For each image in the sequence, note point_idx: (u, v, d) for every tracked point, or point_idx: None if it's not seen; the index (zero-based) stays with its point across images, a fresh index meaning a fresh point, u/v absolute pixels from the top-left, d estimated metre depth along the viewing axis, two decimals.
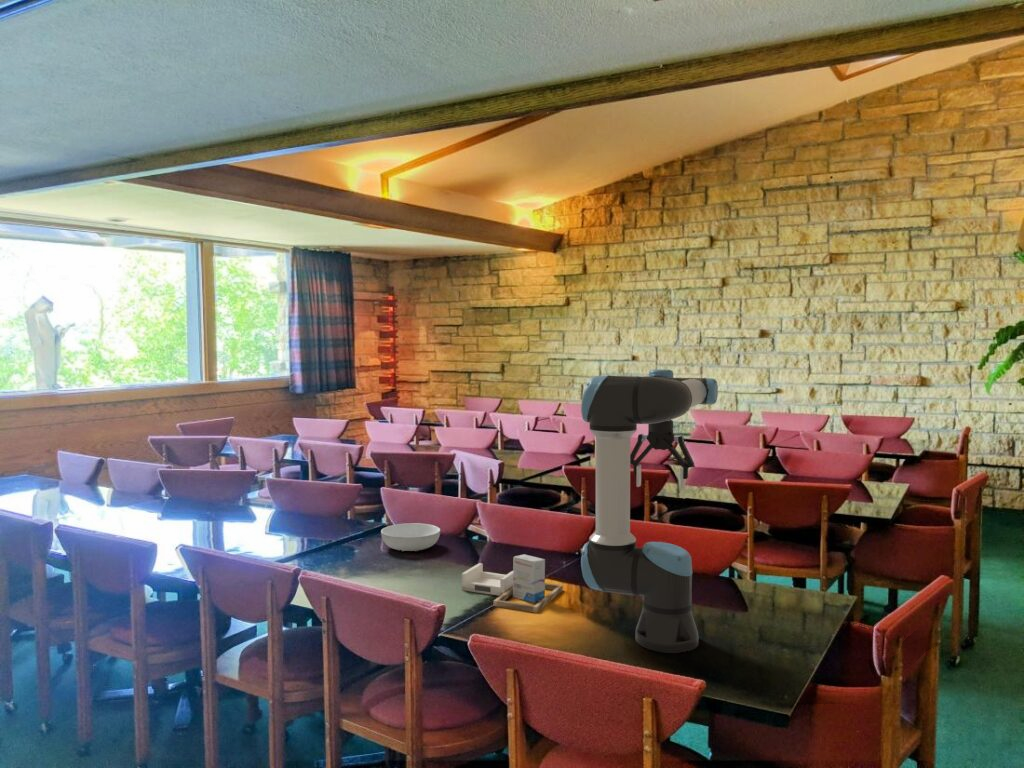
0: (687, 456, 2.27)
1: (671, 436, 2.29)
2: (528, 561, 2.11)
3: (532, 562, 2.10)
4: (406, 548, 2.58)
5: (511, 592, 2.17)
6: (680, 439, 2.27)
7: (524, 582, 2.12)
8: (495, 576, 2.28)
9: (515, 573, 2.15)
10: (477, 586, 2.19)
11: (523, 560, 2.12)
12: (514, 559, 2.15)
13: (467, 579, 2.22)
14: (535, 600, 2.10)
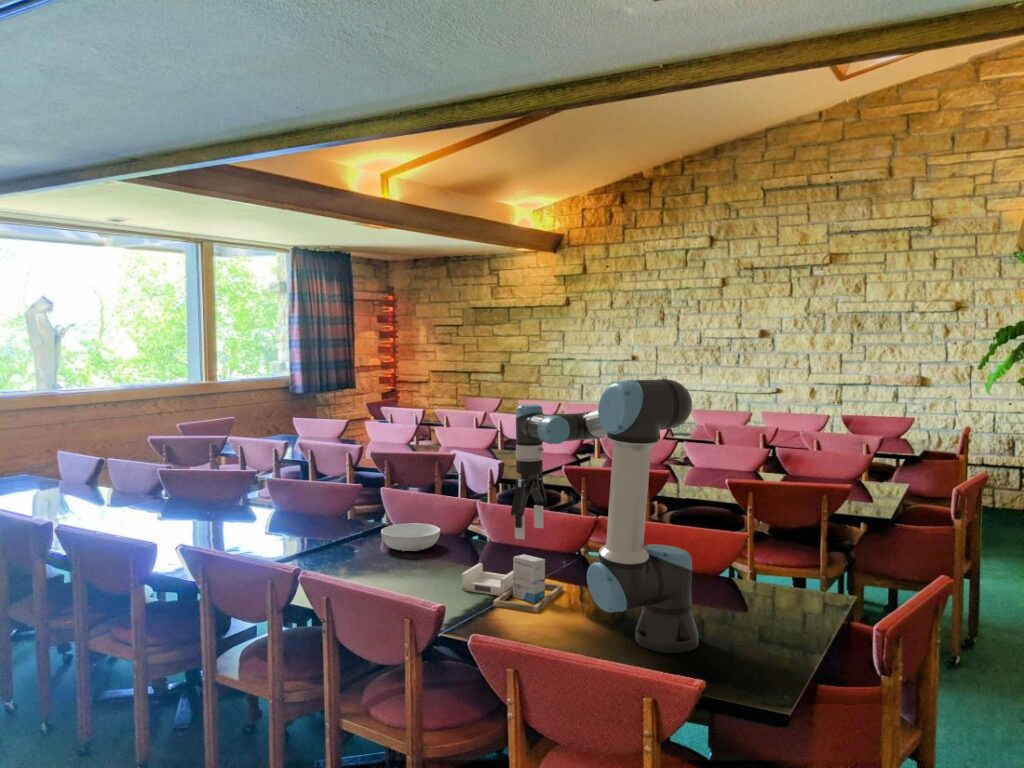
0: None
1: (521, 478, 2.10)
2: (528, 561, 2.11)
3: (532, 562, 2.10)
4: (406, 548, 2.58)
5: (511, 592, 2.17)
6: None
7: (524, 582, 2.12)
8: (495, 576, 2.28)
9: (515, 573, 2.15)
10: (477, 586, 2.19)
11: (523, 560, 2.12)
12: (514, 559, 2.15)
13: (467, 579, 2.22)
14: (535, 601, 2.10)
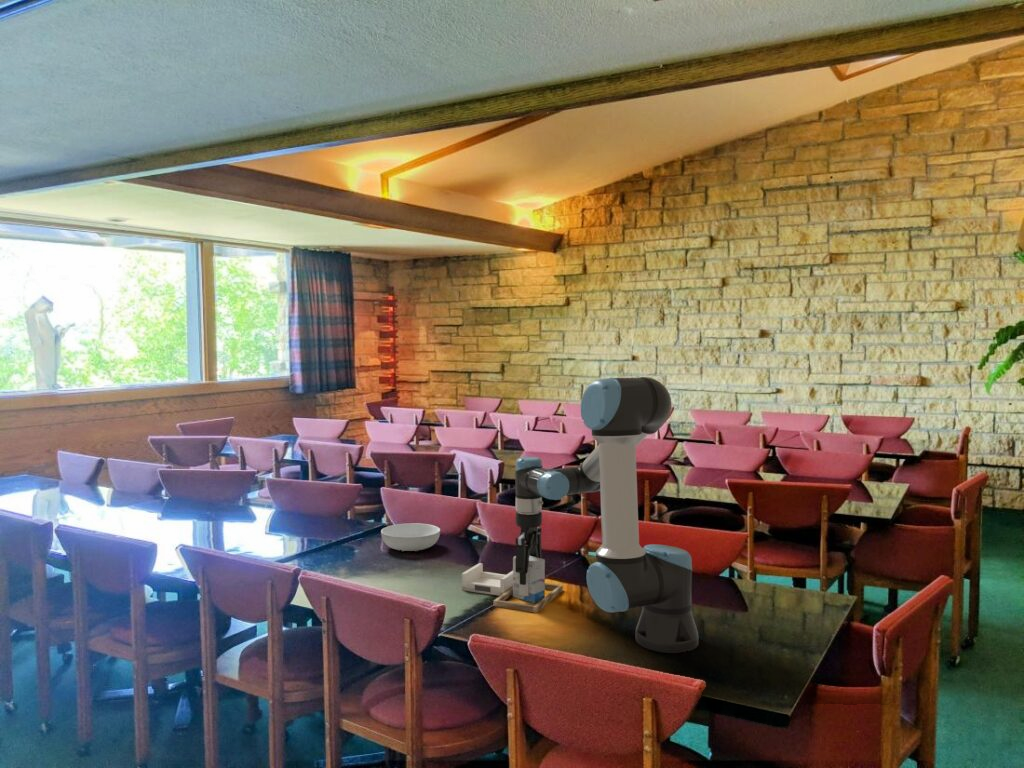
0: None
1: (520, 532, 2.10)
2: None
3: (532, 562, 2.10)
4: (406, 548, 2.58)
5: (511, 592, 2.17)
6: None
7: None
8: (495, 576, 2.28)
9: (515, 573, 2.15)
10: (477, 586, 2.19)
11: None
12: (514, 559, 2.15)
13: (467, 579, 2.22)
14: (535, 600, 2.10)
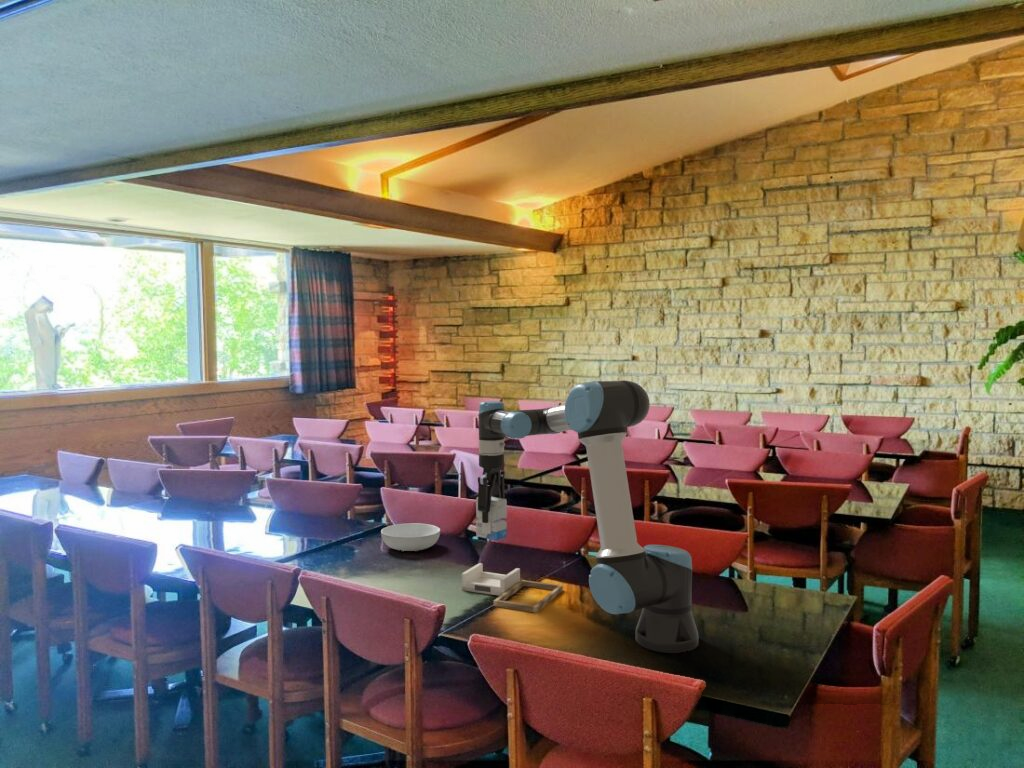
0: None
1: None
2: None
3: (494, 501, 2.19)
4: (406, 548, 2.58)
5: (511, 592, 2.17)
6: None
7: None
8: (495, 576, 2.28)
9: (478, 513, 2.23)
10: (477, 586, 2.19)
11: None
12: (477, 500, 2.23)
13: (467, 579, 2.22)
14: (497, 538, 2.19)
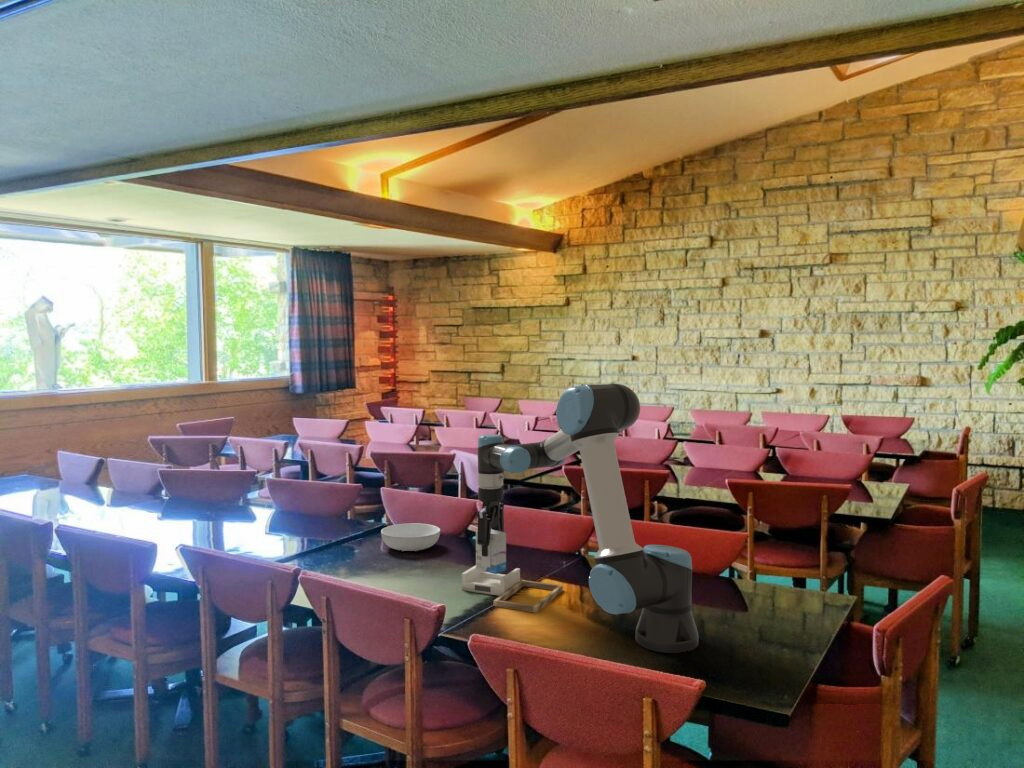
0: None
1: (482, 506, 2.20)
2: (490, 534, 2.20)
3: (493, 535, 2.19)
4: (406, 548, 2.58)
5: (511, 592, 2.17)
6: None
7: None
8: (495, 576, 2.28)
9: (477, 546, 2.23)
10: (477, 586, 2.19)
11: None
12: (476, 533, 2.24)
13: (467, 579, 2.22)
14: (496, 571, 2.19)
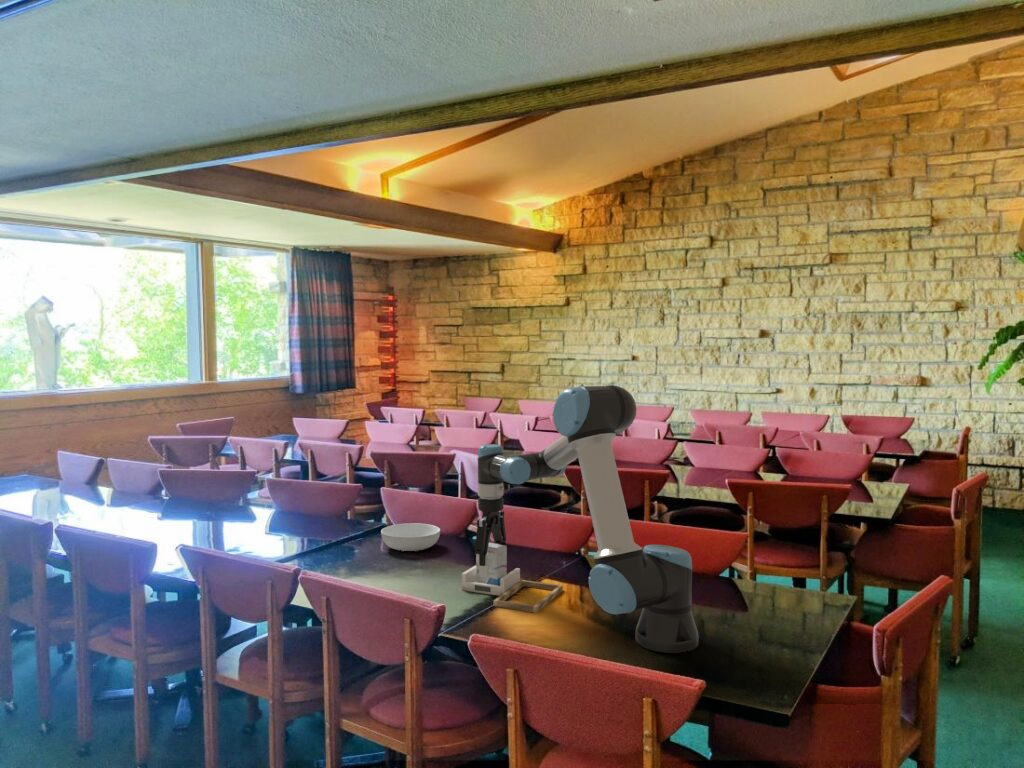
0: None
1: (482, 516, 2.20)
2: (491, 548, 2.21)
3: (495, 548, 2.20)
4: (406, 548, 2.58)
5: (511, 592, 2.17)
6: None
7: None
8: None
9: (478, 560, 2.24)
10: (477, 586, 2.19)
11: None
12: None
13: (467, 579, 2.22)
14: None
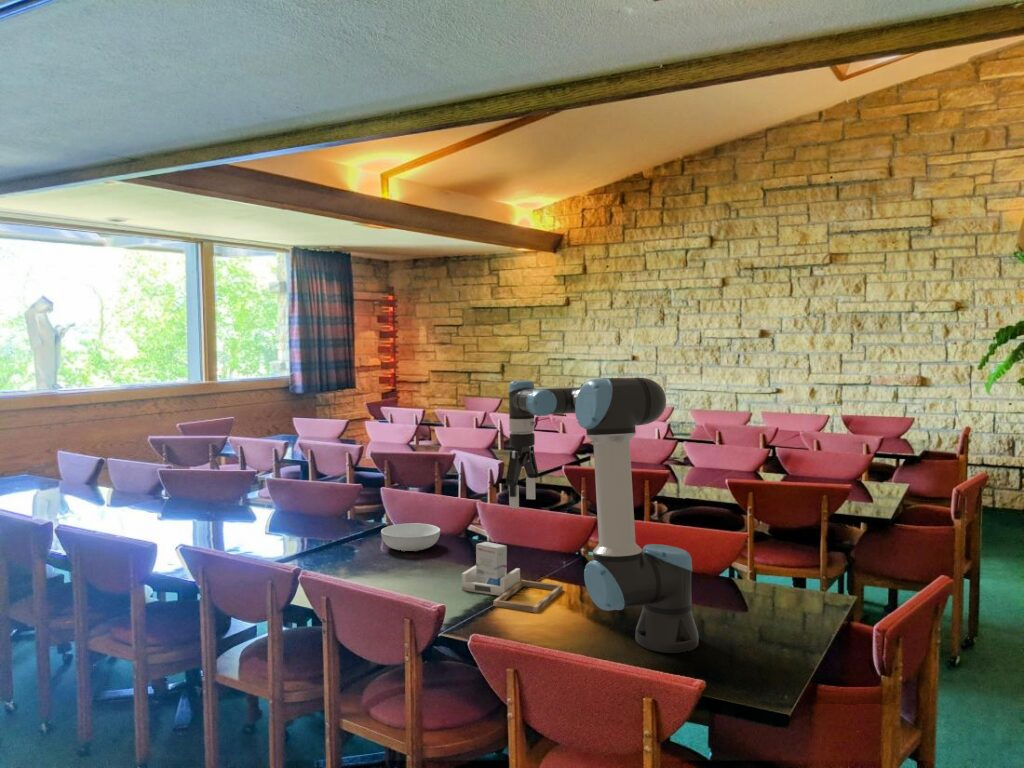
0: None
1: (514, 450, 2.21)
2: (491, 548, 2.21)
3: (495, 548, 2.20)
4: (406, 548, 2.58)
5: (511, 592, 2.17)
6: None
7: (487, 568, 2.22)
8: None
9: (478, 560, 2.24)
10: (477, 586, 2.19)
11: (486, 547, 2.22)
12: (477, 546, 2.24)
13: (467, 579, 2.22)
14: None
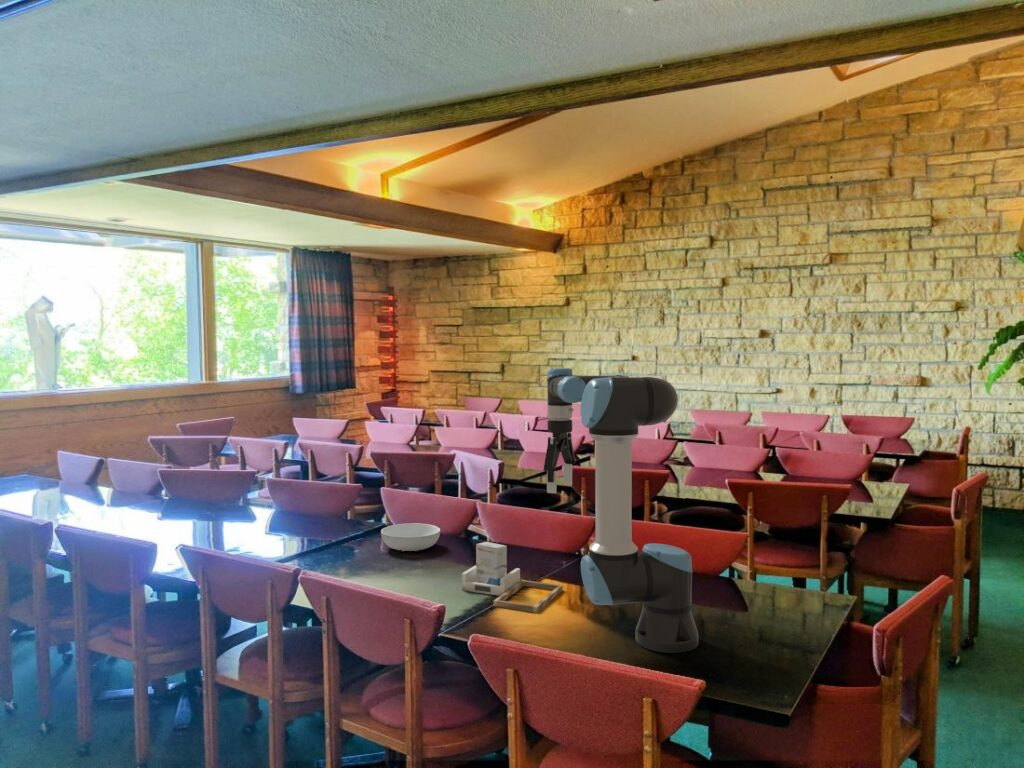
0: None
1: (552, 436, 2.23)
2: (491, 548, 2.21)
3: (495, 548, 2.20)
4: (406, 548, 2.58)
5: (511, 592, 2.17)
6: None
7: (487, 568, 2.22)
8: None
9: (478, 560, 2.24)
10: (477, 586, 2.19)
11: (486, 547, 2.22)
12: (477, 546, 2.24)
13: (467, 579, 2.22)
14: None
